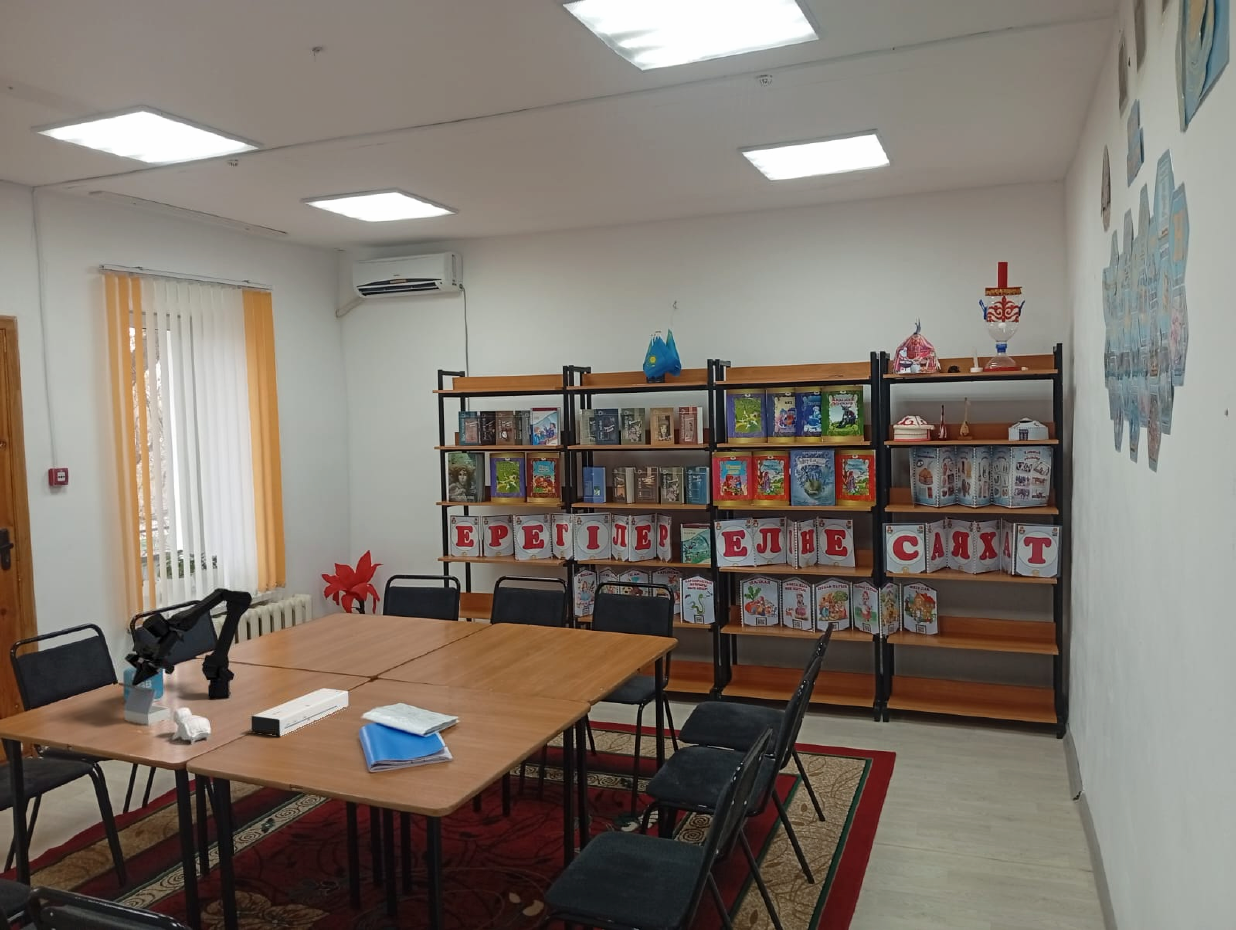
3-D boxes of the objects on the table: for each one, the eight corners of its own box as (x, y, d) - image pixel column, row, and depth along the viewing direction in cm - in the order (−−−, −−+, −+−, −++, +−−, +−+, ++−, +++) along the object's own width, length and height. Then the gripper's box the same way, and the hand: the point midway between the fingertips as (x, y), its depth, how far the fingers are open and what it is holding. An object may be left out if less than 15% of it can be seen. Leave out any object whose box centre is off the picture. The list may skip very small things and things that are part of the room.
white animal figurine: (211, 747, 287) (188, 721, 295) (216, 724, 285) (193, 699, 293) (185, 754, 280) (162, 728, 288) (189, 731, 278) (166, 705, 286)
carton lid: (133, 685, 307) (115, 681, 301) (157, 690, 302) (139, 686, 296) (124, 710, 304) (106, 706, 298) (148, 714, 299) (130, 711, 293)
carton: (146, 713, 311) (146, 703, 311) (170, 718, 306) (169, 708, 306) (124, 720, 304) (124, 710, 304) (148, 725, 299) (148, 714, 299)
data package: (129, 704, 322) (128, 671, 322) (123, 702, 325) (123, 669, 324) (163, 697, 331) (163, 664, 331) (158, 694, 334) (157, 662, 334)
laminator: (279, 739, 286) (279, 719, 286) (248, 734, 291) (248, 715, 290) (348, 708, 318) (348, 690, 317) (320, 704, 322) (320, 687, 322)
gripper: (130, 629, 309) (98, 668, 299) (167, 634, 301) (136, 674, 291) (151, 648, 316) (121, 687, 307) (187, 654, 308) (158, 693, 298)
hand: (133, 685), depth 300 cm, fingers closed, pressing on carton lid
